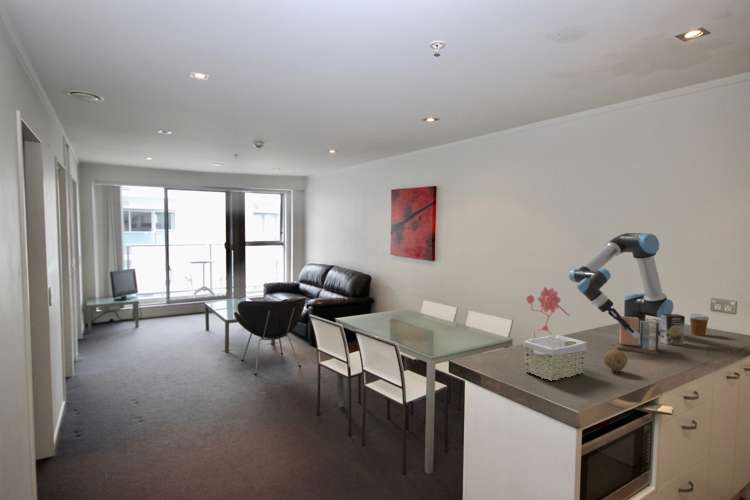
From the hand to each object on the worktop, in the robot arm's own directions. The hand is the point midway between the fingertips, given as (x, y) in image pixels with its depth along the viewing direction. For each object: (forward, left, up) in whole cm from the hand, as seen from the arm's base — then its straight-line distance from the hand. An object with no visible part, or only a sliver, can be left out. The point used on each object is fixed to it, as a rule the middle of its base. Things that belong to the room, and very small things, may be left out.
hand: (636, 335), depth 217 cm
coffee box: (-21, +20, -8) cm, 30 cm away
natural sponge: (+45, -16, -8) cm, 48 cm away
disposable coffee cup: (-50, +40, -8) cm, 65 cm away
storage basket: (+58, -41, -8) cm, 71 cm away
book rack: (0, -1, -7) cm, 7 cm away
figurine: (+33, -43, -8) cm, 54 cm away
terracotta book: (0, -4, -5) cm, 6 cm away
